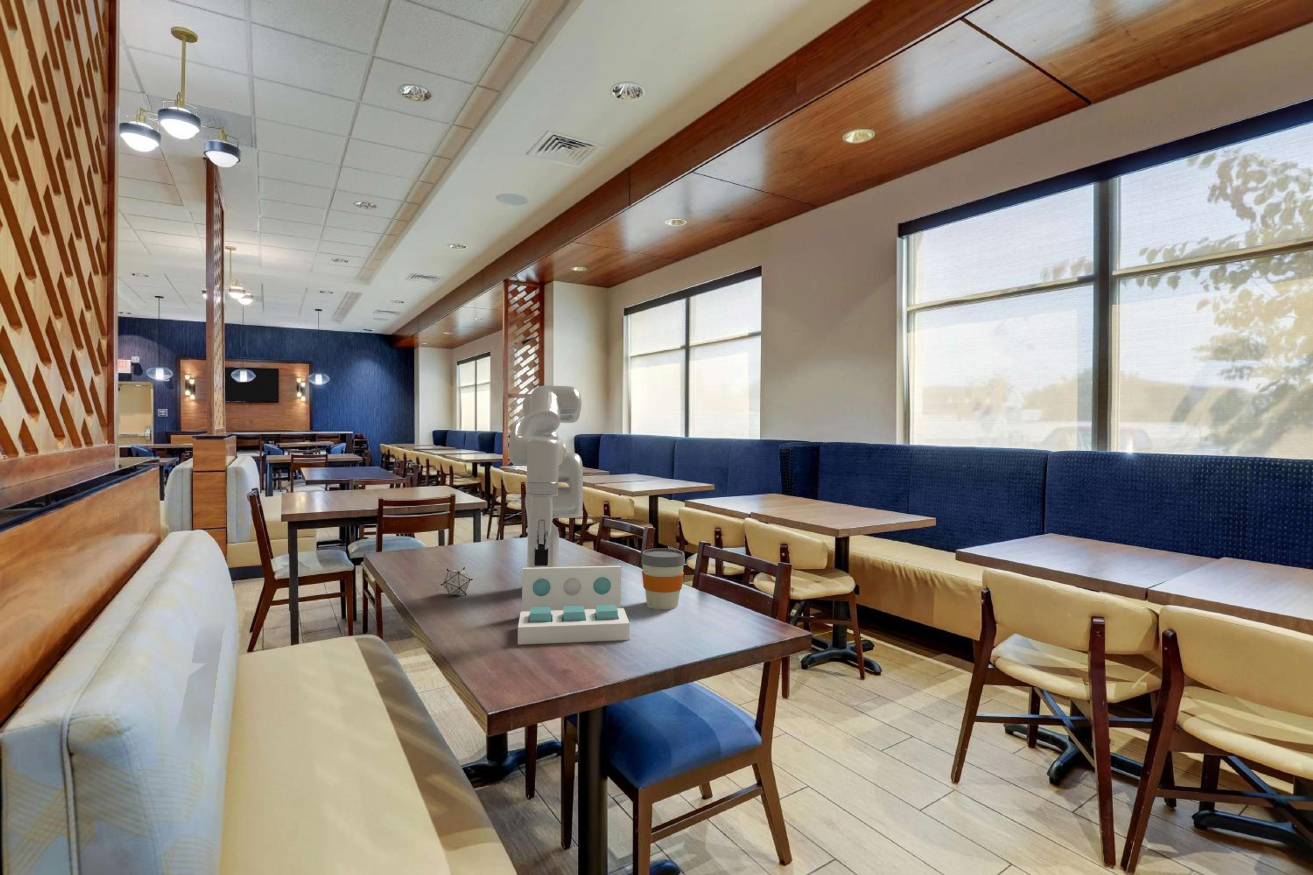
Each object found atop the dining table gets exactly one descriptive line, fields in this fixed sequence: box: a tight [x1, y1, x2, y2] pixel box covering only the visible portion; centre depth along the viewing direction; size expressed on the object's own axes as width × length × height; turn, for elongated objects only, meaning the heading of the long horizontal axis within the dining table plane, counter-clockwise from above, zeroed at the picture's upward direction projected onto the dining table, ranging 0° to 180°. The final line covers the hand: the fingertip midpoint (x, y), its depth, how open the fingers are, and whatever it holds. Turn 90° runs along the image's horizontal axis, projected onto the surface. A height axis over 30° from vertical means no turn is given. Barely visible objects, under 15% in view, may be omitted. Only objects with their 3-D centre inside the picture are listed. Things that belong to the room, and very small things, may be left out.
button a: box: [530, 607, 551, 623], centre depth 147 cm, size 5×5×3 cm
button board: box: [517, 607, 631, 646], centre depth 148 cm, size 12×26×4 cm, turn 100°
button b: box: [563, 606, 585, 621], centre depth 148 cm, size 5×5×3 cm
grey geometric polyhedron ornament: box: [440, 566, 474, 598], centre depth 179 cm, size 9×8×10 cm
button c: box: [595, 605, 618, 620], centre depth 150 cm, size 5×5×3 cm
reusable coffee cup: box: [640, 548, 686, 610], centre depth 173 cm, size 13×12×15 cm
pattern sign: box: [521, 565, 622, 612], centre depth 162 cm, size 6×26×13 cm, turn 100°
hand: (541, 564), depth 147 cm, fingers closed
